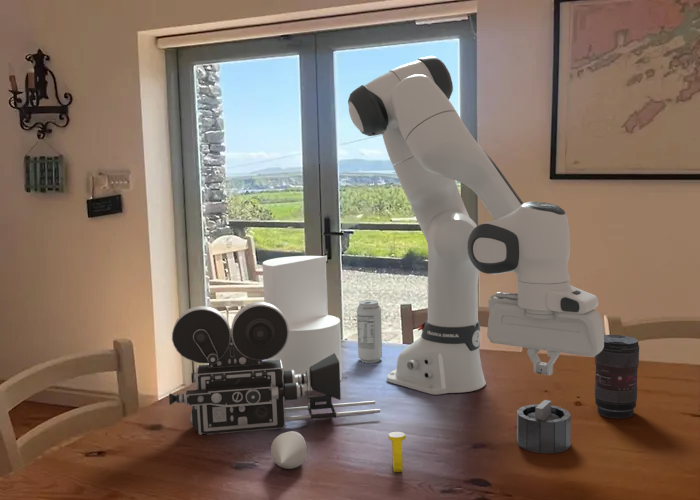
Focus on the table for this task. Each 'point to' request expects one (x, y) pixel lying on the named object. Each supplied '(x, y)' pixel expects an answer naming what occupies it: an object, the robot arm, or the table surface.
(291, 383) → the film camera
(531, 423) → the faceted grey ring
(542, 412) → the grey dial knob
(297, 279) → the cylinder
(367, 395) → the table surface
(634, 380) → the camera lens
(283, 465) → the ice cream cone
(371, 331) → the energy drink can
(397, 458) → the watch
